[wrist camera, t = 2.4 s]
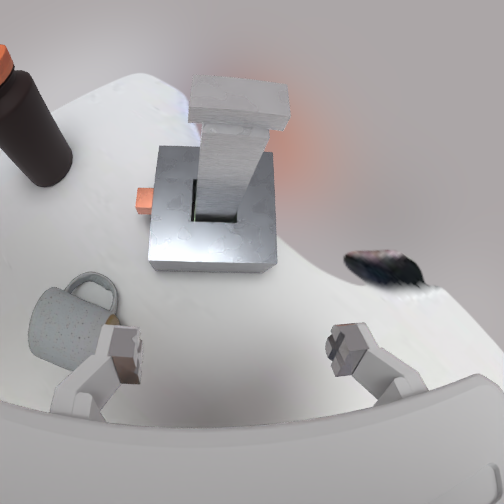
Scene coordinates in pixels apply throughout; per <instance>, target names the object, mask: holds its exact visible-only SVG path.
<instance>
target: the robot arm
mask: <svg viewBox="0 0 504 504" xmlns="http://www.w3.org/2000/svg"><path fill="white" fill-rule="evenodd" d="M331 333H332V335H331V336H329V337H328V338H327V341H326V345H325V350H326V354H327V357H328V358H329V359H330V360H331V361H332V364H331V367H332V370H333V372H334V374H335V377H339V376H347V375H352V376H353V377H354V378H355V379H356V380H357V381H358V382H359V383H360V384H361V385H362V386H363V387H364V388H366V389H367V390H368V391H369V392H370V393H371V394H372V395H373V396H374V397H375V398H376V399H378V401H377V402H376V403H375V404H374V405H373V407H370V408H366V409H361V410H357V411H352V412H347V413H342V414H337V415H332V416H326V417H320V418H314V419H308V420H301V421H293V422H285V423H276V424H267V425H255V426H241V427H220V428H169V427H149V426H135V425H124V424H114V423H106V421H105V419H104V417H103V416H102V414H101V412H100V410H101V409H102V408H103V406H104V405H105V404H106V403H107V401H108V400H109V399H110V397H111V396H112V395H113V394H114V392H115V391H116V390H117V389H118V387H119V386H120V385H121V384H140V383H141V373H142V371H141V366H140V365H141V364H142V363H143V343H142V340H141V339H140V335H141V332H140V328H139V327H131V326H120V325H107V324H104V325H103V326H102V329H101V332H100V336H99V340H98V344H97V348H96V352H95V355H91V356H90V357H88V358H87V359H86V360H85V361H84V362H83V363H82V364H81V365H80V366H79V367H77V368H76V369H75V370H74V371H73V372H72V373H71V374H70V375H69V376H68V377H66V378H65V379H64V380H63V381H62V382H61V383H60V384H59V385H58V386H57V387H56V388H55V392H54V396H53V400H52V404H51V408H50V413H47V412H43V411H38V410H34V409H30V408H26V407H22V406H19V405H15V404H11V403H8V402H5V401H1V400H0V504H504V392H503V391H502V389H501V388H500V387H499V386H498V385H497V384H496V383H494V382H493V381H491V380H490V379H488V378H487V377H485V376H483V375H481V374H473V375H471V376H468V377H466V378H463V379H461V380H458V381H456V382H453V383H450V384H447V385H445V386H442V387H439V388H436V389H433V390H430V391H429V390H428V388H427V387H426V385H425V383H424V381H423V379H422V378H421V376H420V374H419V372H418V371H416V370H415V369H413V368H412V367H410V366H409V365H407V364H406V363H404V362H403V361H401V360H400V359H398V358H397V357H395V356H394V355H392V354H391V353H389V352H388V351H386V350H385V349H384V348H379V346H378V344H377V342H376V341H375V339H374V337H373V335H372V333H371V332H370V330H369V328H368V326H367V325H366V324H365V323H364V322H363V323H351V324H340V325H334V326H333V327H332V329H331ZM120 383H121V384H120Z"/></svg>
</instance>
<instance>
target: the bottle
mask: <svg viewBox="0 0 504 504" xmlns="http://www.w3.org/2000/svg"><path fill="white" fill-rule="evenodd" d="M14 67H15V66H14V64H13V61H12V59H11V57H10V54H9V52H8V50H7V48H6V46H5V45H1V44H0V148H1V149H2V150H3V151H4V152H5V153H6V154H7V156H8V157H9V158H10V159H11V160H12V161H13V162H14V163H15V164H16V165H17V166H18V167H19V169H20V170H21V171H22V172H23V173H24V174H25V175H26V176H27V177H28V178H29V179H30V180H31V181H32V182H33V183H34V184H36V185H37V186H41V187H47V186H51V185H53V184H55V183H57V182H59V181H60V180H61V179H62V178H63V177H64V176H65V175H66V173H67V172H68V170H69V168H70V166H71V163H72V152H71V149H70V147H69V145H68V144H67V142H66V140H65V138H64V137H63V135H62V133H61V131H60V130H59V128H58V126H57V124H56V123H55V121H54V119H53V117H52V115H51V114H50V112H49V110H48V108H47V106H46V104H45V102H44V100H43V99H42V97H41V95H40V93H39V91H38V89H37V87H36V85H35V83H34V81H33V79H32V77H31V76H30V74H29V73H28V72H25V71H22V70H17V71H14Z"/></svg>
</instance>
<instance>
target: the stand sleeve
mask: <svg viewBox="0 0 504 504" xmlns="http://www.w3.org/2000/svg"><path fill="white" fill-rule="evenodd" d="M199 152H200V147H189V146H159V152H158V160H157V167H156V175H155V184H154V188H138V190H137V199H136V209H137V212H138V214H151V225H150V239H149V255H148V261H149V262H150V264H151V265H152V266H153V268H154V269H155V271H187V272H231V273H264V272H265V271H267V270H268V269H270V268H271V267H273V266H274V265H276V264H277V240H276V213H275V190H274V168H273V153H272V152H263V153H262V155H261V158H260V160H259V162H258V164H257V166H256V169H255V171H254V173H253V175H252V178H251V180H250V182H249V184H248V186H247V189H246V191H245V193H244V195H243V198H242V200H241V202H240V204H239V207H238V209H237V211H236V214H235V216H234V218H233V220H232V223H220V222H193V221H191V215H192V201H193V202H195V197H196V189H197V176H198V164H199Z"/></svg>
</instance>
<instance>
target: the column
mask: <svg viewBox="0 0 504 504" xmlns="http://www.w3.org/2000/svg"><path fill="white" fill-rule="evenodd" d="M290 116H291V115H290V106H289V97H288V88H287V85H286V84H279V83H274V82H266V81H259V80H251V79H243V78H233V77H222V76H207V75H193V80H192V87H191V94H190V101H189V113H188V123H202V131H201V141H200V152H199V164H198V176H197V189H196V197H195V217H194V222H220V223H232V220H233V218H234V216H235V214H236V211H237V209H238V207H239V204H240V202H241V200H242V198H243V195H244V193H245V191H246V189H247V186H248V184H249V182H250V180H251V178H252V175H253V173H254V171H255V169H256V166H257V164H258V162H259V160H260V158H261V155H262V153H263V151H264V149H265V147H266V144H267V142H268V140H269V138H270V137H269V129H272V130H280V131H283V130H284V128H285V126H286V124H287V122H288V121H289V119H290Z"/></svg>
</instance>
